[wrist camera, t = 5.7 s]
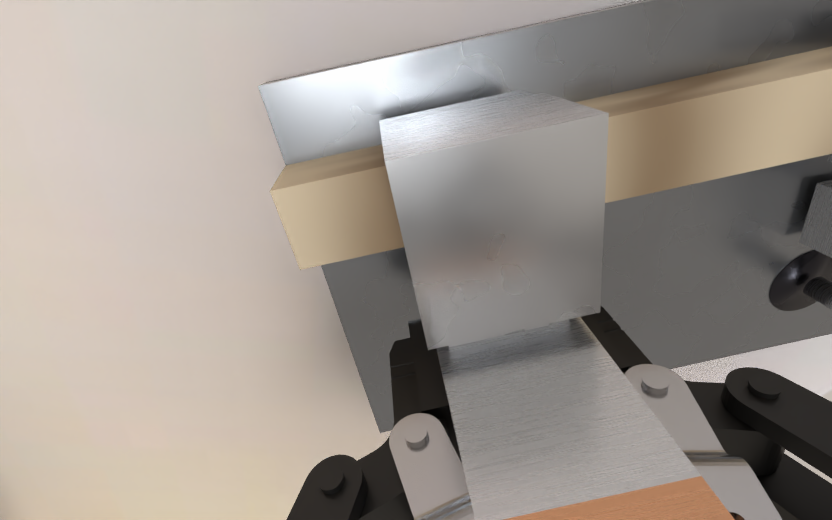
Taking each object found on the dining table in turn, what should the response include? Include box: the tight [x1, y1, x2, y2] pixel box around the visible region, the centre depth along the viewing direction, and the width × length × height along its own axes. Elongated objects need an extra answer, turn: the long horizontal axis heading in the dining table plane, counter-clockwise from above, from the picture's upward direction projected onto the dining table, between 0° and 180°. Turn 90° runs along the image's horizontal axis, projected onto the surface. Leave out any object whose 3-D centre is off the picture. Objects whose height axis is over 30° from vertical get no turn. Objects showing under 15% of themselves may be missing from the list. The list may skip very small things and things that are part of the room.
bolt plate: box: [258, 0, 832, 433], centre depth 16 cm, size 22×15×1 cm
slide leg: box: [379, 89, 735, 520], centre depth 10 cm, size 4×11×10 cm, turn 11°
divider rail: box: [270, 46, 832, 270], centre depth 12 cm, size 22×2×2 cm, turn 101°
